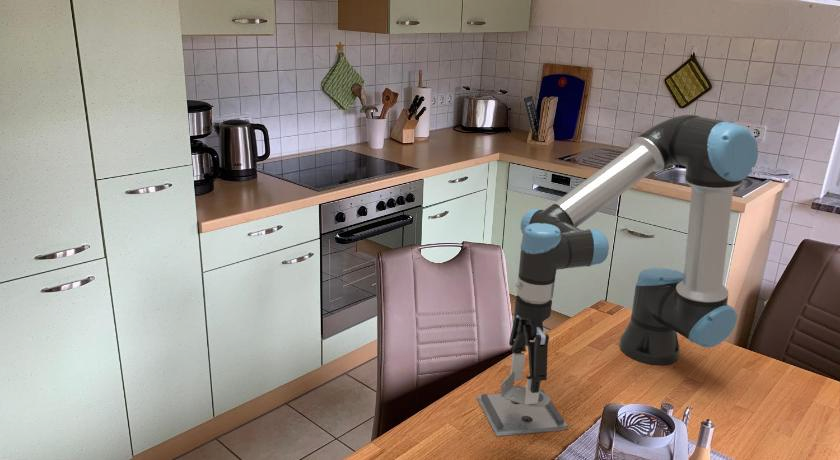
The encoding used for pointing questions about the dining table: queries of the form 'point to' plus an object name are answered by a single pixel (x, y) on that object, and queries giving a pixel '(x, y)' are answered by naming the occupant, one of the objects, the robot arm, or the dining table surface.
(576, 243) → the robot arm
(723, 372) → the dining table surface
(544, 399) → the bracket
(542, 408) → the mount plate
